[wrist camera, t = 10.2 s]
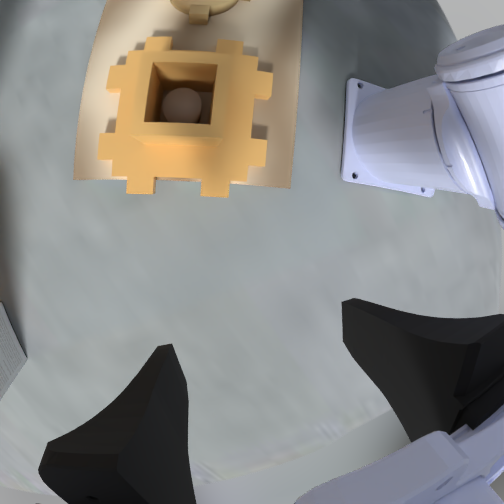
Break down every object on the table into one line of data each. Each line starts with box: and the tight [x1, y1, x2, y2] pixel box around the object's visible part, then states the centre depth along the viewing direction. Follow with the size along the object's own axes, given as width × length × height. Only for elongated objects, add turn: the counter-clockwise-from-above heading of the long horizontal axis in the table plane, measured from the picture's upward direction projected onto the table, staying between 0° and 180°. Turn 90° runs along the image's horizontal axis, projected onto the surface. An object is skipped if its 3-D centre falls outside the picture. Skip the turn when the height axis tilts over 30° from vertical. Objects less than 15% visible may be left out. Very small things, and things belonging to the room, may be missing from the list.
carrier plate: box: [73, 0, 303, 189], centre depth 14 cm, size 14×18×4 cm
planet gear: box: [97, 37, 273, 198], centre depth 14 cm, size 10×10×5 cm
